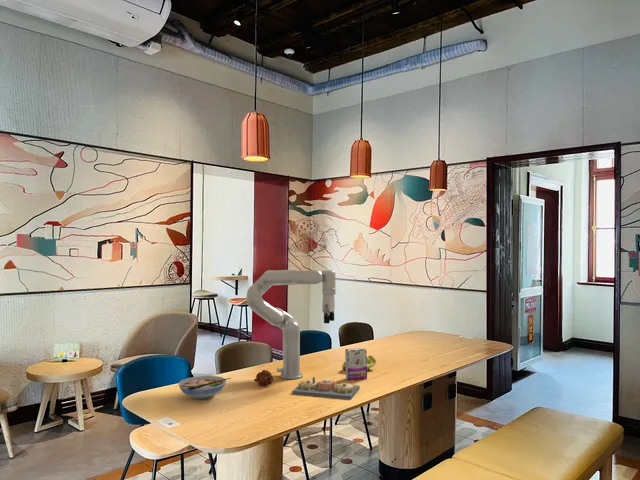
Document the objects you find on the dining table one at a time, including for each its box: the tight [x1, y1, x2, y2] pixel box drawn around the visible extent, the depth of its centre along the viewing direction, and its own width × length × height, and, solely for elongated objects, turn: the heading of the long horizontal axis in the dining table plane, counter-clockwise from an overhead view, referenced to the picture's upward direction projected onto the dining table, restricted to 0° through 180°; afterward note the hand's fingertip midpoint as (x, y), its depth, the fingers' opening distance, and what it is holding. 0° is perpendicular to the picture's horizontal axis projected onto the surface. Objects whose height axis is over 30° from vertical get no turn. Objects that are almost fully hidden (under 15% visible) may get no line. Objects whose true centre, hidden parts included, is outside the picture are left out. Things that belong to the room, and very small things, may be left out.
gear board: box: [291, 376, 361, 400], centre depth 232 cm, size 30×18×6 cm, turn 72°
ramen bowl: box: [178, 375, 231, 400], centre depth 224 cm, size 25×23×8 cm
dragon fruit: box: [253, 369, 274, 387], centre depth 243 cm, size 8×8×12 cm
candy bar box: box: [344, 347, 368, 381], centre depth 255 cm, size 11×5×16 cm, turn 105°
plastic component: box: [341, 354, 377, 371], centre depth 274 cm, size 20×7×10 cm
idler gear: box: [317, 379, 336, 390], centre depth 232 cm, size 8×7×3 cm
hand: (329, 321), depth 262 cm, fingers open, 9 cm apart
